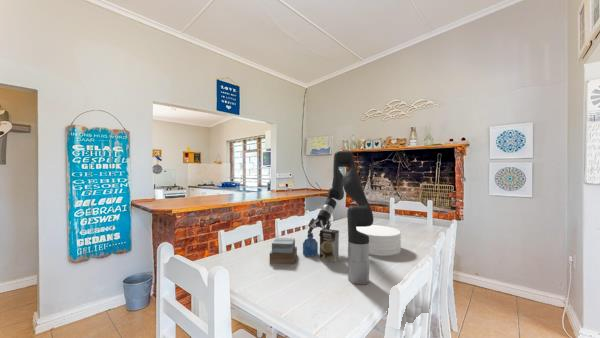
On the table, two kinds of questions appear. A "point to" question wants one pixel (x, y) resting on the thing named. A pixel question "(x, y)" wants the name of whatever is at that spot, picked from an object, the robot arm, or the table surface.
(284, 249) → the two-tone square pedestal
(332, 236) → the coffee box
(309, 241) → the perfume bottle
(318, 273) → the table surface
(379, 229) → the white short wide cylinder
